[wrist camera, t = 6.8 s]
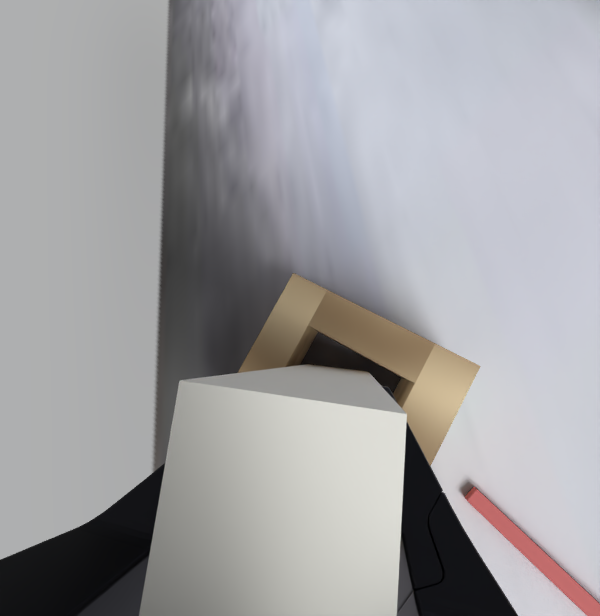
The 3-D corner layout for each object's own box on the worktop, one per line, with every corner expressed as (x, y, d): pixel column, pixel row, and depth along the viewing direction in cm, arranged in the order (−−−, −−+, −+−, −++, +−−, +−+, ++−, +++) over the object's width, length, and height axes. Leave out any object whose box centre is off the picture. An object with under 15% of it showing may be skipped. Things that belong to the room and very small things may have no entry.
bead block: (372, 519, 16) (377, 570, 12) (232, 422, 19) (200, 439, 15) (451, 364, 17) (480, 366, 13) (305, 290, 19) (293, 272, 15)
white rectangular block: (363, 436, 15) (391, 725, 3) (301, 426, 16) (136, 630, 4) (368, 371, 16) (407, 414, 4) (307, 364, 17) (179, 380, 5)
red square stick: (765, 758, 12) (779, 772, 11) (752, 772, 12) (765, 786, 11) (474, 486, 15) (477, 489, 15) (464, 497, 15) (467, 500, 15)
